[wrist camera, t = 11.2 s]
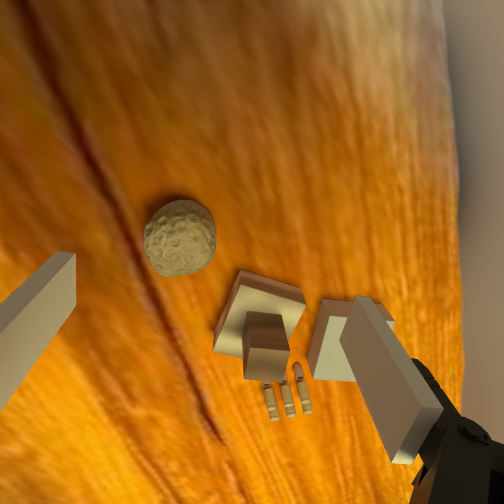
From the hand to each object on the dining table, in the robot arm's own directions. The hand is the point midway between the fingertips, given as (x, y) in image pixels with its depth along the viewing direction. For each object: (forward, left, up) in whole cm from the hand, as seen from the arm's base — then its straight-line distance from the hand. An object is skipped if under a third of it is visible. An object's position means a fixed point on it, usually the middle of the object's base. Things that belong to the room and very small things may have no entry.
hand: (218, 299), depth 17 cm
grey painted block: (+23, +24, -33) cm, 46 cm away
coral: (+10, -4, -33) cm, 34 cm away
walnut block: (+21, +9, -28) cm, 36 cm away
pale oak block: (+21, +9, -33) cm, 40 cm away
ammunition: (+35, +17, -33) cm, 51 cm away
